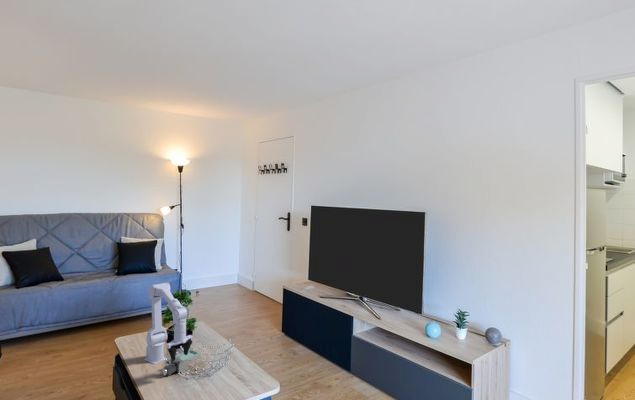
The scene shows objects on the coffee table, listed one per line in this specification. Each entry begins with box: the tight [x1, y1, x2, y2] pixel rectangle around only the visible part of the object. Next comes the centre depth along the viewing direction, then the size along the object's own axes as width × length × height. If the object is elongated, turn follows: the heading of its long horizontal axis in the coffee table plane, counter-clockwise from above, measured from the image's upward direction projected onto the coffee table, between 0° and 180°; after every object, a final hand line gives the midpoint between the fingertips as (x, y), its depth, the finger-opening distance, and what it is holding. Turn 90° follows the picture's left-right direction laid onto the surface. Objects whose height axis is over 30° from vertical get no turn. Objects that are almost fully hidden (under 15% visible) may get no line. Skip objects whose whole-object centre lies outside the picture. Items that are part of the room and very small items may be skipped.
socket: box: [168, 356, 190, 374], centre depth 190 cm, size 8×6×6 cm
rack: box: [167, 348, 201, 363], centre depth 202 cm, size 8×15×2 cm, turn 148°
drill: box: [160, 362, 178, 377], centre depth 186 cm, size 11×5×5 cm, turn 148°
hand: (179, 357), depth 183 cm, fingers open, 7 cm apart
